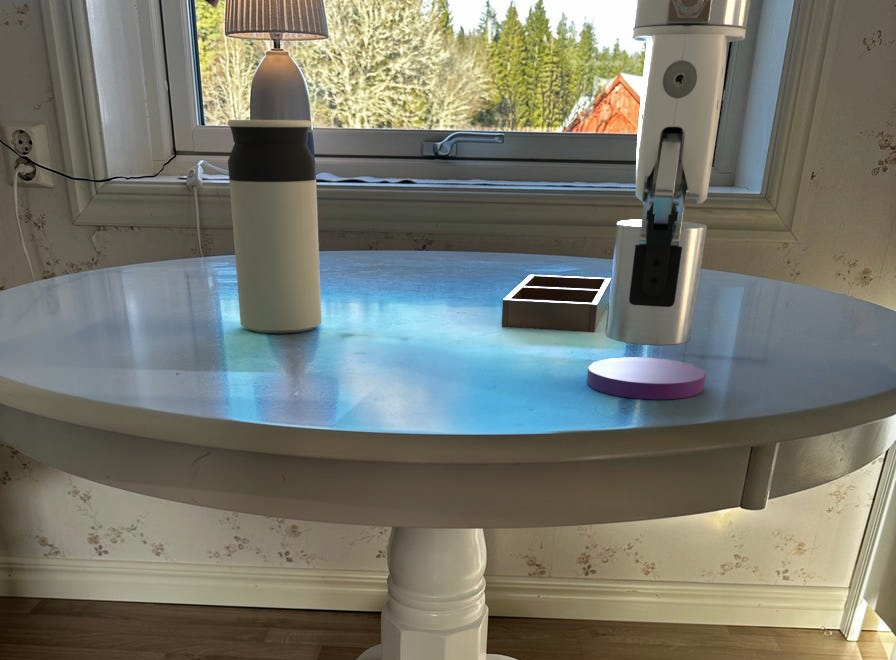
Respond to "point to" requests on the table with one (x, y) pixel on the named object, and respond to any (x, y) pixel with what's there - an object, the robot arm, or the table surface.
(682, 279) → the brushed metal canister
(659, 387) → the purple lid
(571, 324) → the divided storage tray
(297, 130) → the travel mug
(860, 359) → the table surface
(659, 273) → the robot arm
